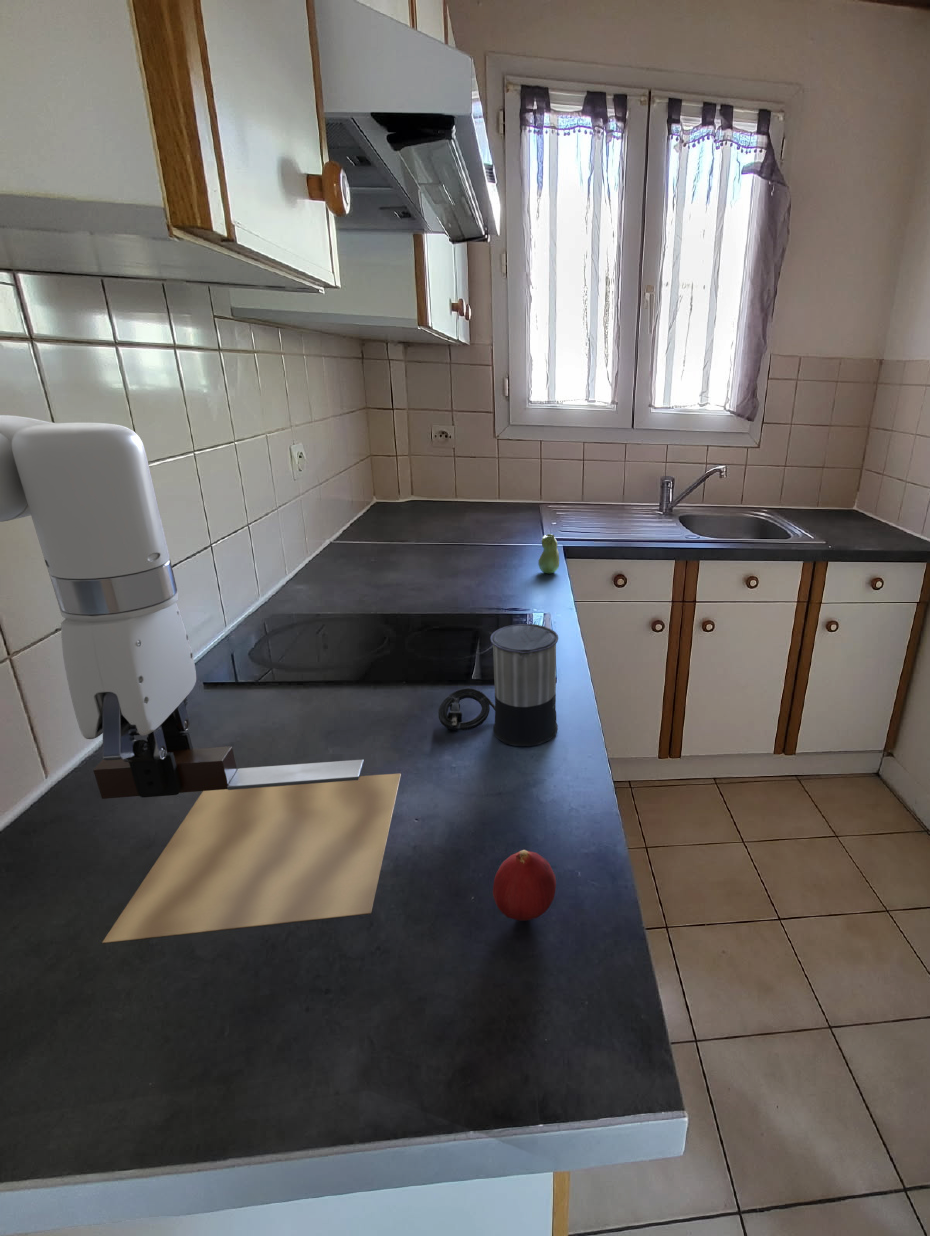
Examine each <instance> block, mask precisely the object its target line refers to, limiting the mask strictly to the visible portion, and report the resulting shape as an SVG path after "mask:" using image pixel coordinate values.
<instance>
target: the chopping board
mask: <svg viewBox="0 0 930 1236" xmlns="http://www.w3.org/2000/svg"><path fill="white" fill-rule="evenodd" d="M401 776H402V773H401V772H400V773H399V772H398V773H387V774H373V775H371V774H370V775H360V777H359V780H353V781H340V782H327V783H314V784H301V785H288V786H275V787H262V788H250V789H237V790H228V789H224V790H211V791H201V792H200V795H199V796H198V798H197V799H196V801H195V802H194V803H193V805H192V806H191V808H190V810H189V811H188V812H187V814H186V816H185V817H184V818H183V820H182V822H181V823H180V825H179V827H178V828H177V829H176V831H175V832H174V833H173V835H172V837H171V838H170V839H169V841H168V843H167V844H166V845H165V847H164V849H163V850H162V851H161V853H160V855H159V856H158V857H157V859H156V861H155V862H154V863H153V865H152V867H150V870H149V871H148V873H147V874H146V876H145V877H144V878H143V881H142V882H141V883H140V885H139V886H138V888H137V889H136V891H135V892H134V894H133V895H132V897H131V898H130V899H129V901H128V902H127V904H126V906H125V907H124V909H123V910H122V911H121V913H120V915H119V916H118V918H117V919H116V920H115V922H114V924H113V925H112V927H111V928H110V930H109V931H108V933H107V934H106V935H105V937H104V939H103V940H102V942H101V943H102V944H108V943H118V942H126V941H134V940H144V939H145V940H146V939H154V938H162V937H163V938H164V937H171V936H172V937H173V936H179V935H190V934H199V933H208V932H218V931H225V930H226V931H227V930H234V929H235V930H236V929H243V928H254V927H260V926H261V927H263V926H271V925H280V924H287V923H288V924H289V923H290V924H291V923H298V922H299V923H300V922H307V921H315V920H316V921H317V920H324V919H325V920H327V919H334V918H343V917H353V916H362V915H371V914H372V912H373V908H374V903H375V899H376V898H375V897H376V893H377V888H378V884H379V878H380V874H381V870H382V865H383V862H384V861H383V860H384V856H385V851H386V846H387V841H388V837H389V833H390V832H389V831H390V827H391V823H392V818H393V814H394V809H395V806H396V805H395V804H396V799H397V795H398V790H399V785H400V782H401Z"/></svg>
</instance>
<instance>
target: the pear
mask: <svg viewBox="0 0 930 1236" xmlns="http://www.w3.org/2000/svg"><path fill="white" fill-rule="evenodd" d="M558 544H559V543H558V541H557V539H556V537H555V534H552V533H548V534H544V535H543V536H542V539H541V547H542V550H543V551H541V552H542V553H541V555H540V557H539V558H538V562H537V565H538V568H539V570H540V571H541V572H542V573H545V574H554V573H555V572H556V571H557V572H558V569H559V567H560V552H559V550H558Z"/></svg>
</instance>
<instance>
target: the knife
mask: <svg viewBox="0 0 930 1236" xmlns="http://www.w3.org/2000/svg"><path fill="white" fill-rule="evenodd" d="M169 752H173V754H174V758H175V762H176V766H177V770H178V774H179V778H180V782H181V786H182V790H181V791H180V793H179V794H182V793H196V792H197V793H198V792H203V791H211V790H224V789H228V790H237V789H250V788H262V787H275V786H288V785H301V784H314V783H327V782H340V781H353V780H359V777H360V776H361V774H362V771H363V768H364V765H365V761H364V759H351V760H350V759H349V760H339V761H338V760H336V761H323V762H310V763H297V764H296V763H295V764H294V763H293V764H282V765H267V766H253V767H241V768H239V767H238V768H237V764H236V763H237V762H236V758H235V754H234V748H233V746H216V747H215V746H214V747H202V748H200V747H199V748H193V749H184V750H169V751H167V753H169ZM92 771H93V772H92V773H93V776H94V779H95V781H96V784H97V785H96V786H97V788H98V791H99V794H100V797H101V799H102V800H105V799H118V798H119V799H121V798H133V797H140V796H139V795H138V792H137V789H136V785H135V782H134V778H133V775H132V771H131V768H130V764H129V762H125V761H124V760H123V759H120V760H104V758H103V759H102V760H101V761H100V762H99V763H98V764H97V765H96V766H95V767H94V768H93V769H92Z"/></svg>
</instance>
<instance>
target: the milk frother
mask: <svg viewBox="0 0 930 1236" xmlns="http://www.w3.org/2000/svg"><path fill="white" fill-rule="evenodd" d="M489 639H490V642H491V644H492V654H493V655H492V656H493V658H492V659H493V679H494V682H493V683H494V703H493V702H492V700H491V699H490V698H489V697H488V696H487V695H486V694H485V693H483V692H482V691H480V690H478V689H476V688H471V687H466V688H460V689H457V690H455V691H454V692H452V693H450V694H449V695H448V696H446V698H444V700H443V701H442V702H441V703H440V705H439V708H438V720H439V721H440V723H441V725H442V726H444V727H445V728H447V729H449V730H454V731H469V730H473V729H476V728H478V727H480V726H481V725H482V724H484V723H485V721H486V720H487V719H488V717H489V714H490V709H491V708H490V707H492V709H493V710H494V724H493V728H492V729H493V730H492V731H493V735H494V736H495V737H496V739H498V741H500V742H502V743H504V744H506V745H508V746H509V745H510V746H515V747H534V746H538V745H541V744H544V743H546V742H548V741H550V740H552V739H553V738H554V737H555V736H556V734H557V733H558V730H559V729H558V728H559V727H558V726H559V725H558V723H557V710H556V702H557V693H556V691H557V690H556V689H557V643H558V642H559V635H558V633H557V632H556V631H555V630H553V629H552V628H549V627H547V626H545V625H539V624H536V623H529V624H528V623H518V624H511V625H505V626H503V627H500V628H498V629H497V630H495V631H494V632H492V634H491V635H490V637H489ZM465 699H471V700H474V701H476V702H477V703H478V704H480V707H481V711H480V713H479V714H478V715H477V716H476V717H473V719H471V720H467V721H463V720H462V719H463V712H462V711H461V704H460V701H462V700H465ZM449 710H450V711H449Z"/></svg>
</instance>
